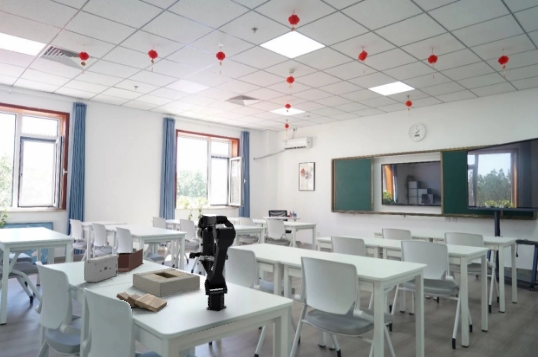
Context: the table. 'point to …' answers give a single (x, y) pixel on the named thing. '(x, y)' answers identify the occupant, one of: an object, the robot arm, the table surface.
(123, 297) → the domino
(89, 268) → the stereo radio cassette player
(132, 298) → the domino
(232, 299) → the table surface
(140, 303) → the square wooden board
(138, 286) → the box
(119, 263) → the desk organizer
